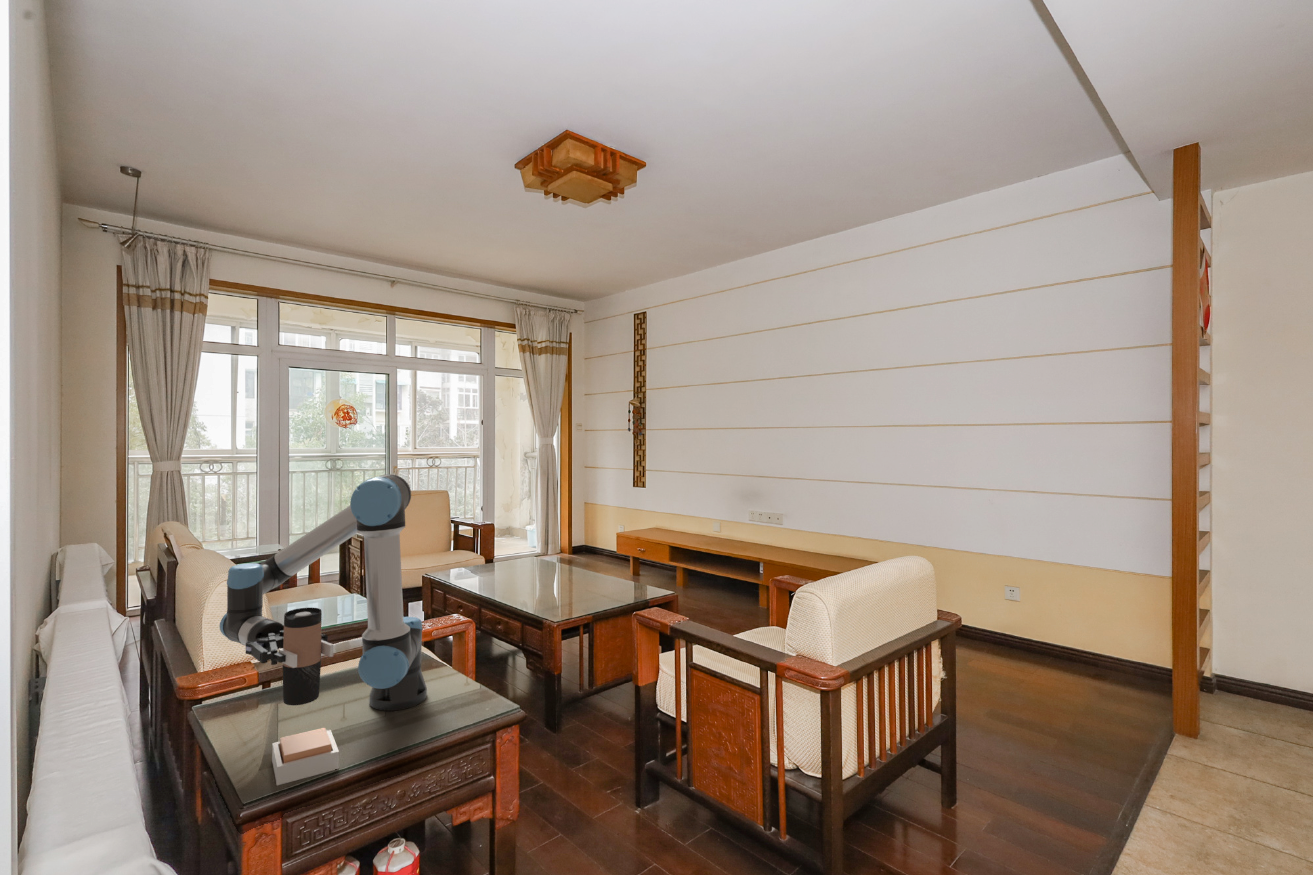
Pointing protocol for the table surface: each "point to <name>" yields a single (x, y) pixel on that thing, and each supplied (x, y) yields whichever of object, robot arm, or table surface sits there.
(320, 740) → the pink flat block
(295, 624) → the travel mug
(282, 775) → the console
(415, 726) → the table surface
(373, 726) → the table surface
